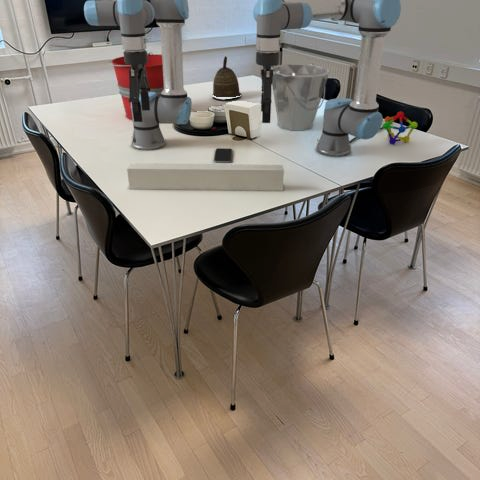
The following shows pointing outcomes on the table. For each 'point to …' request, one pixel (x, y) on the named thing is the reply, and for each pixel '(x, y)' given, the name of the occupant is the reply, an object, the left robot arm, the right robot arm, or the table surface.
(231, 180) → the bar
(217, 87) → the bell
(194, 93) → the table surface
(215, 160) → the smartphone
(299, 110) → the bucket
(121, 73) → the bucket
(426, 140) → the table surface
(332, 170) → the table surface
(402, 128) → the educational toy
